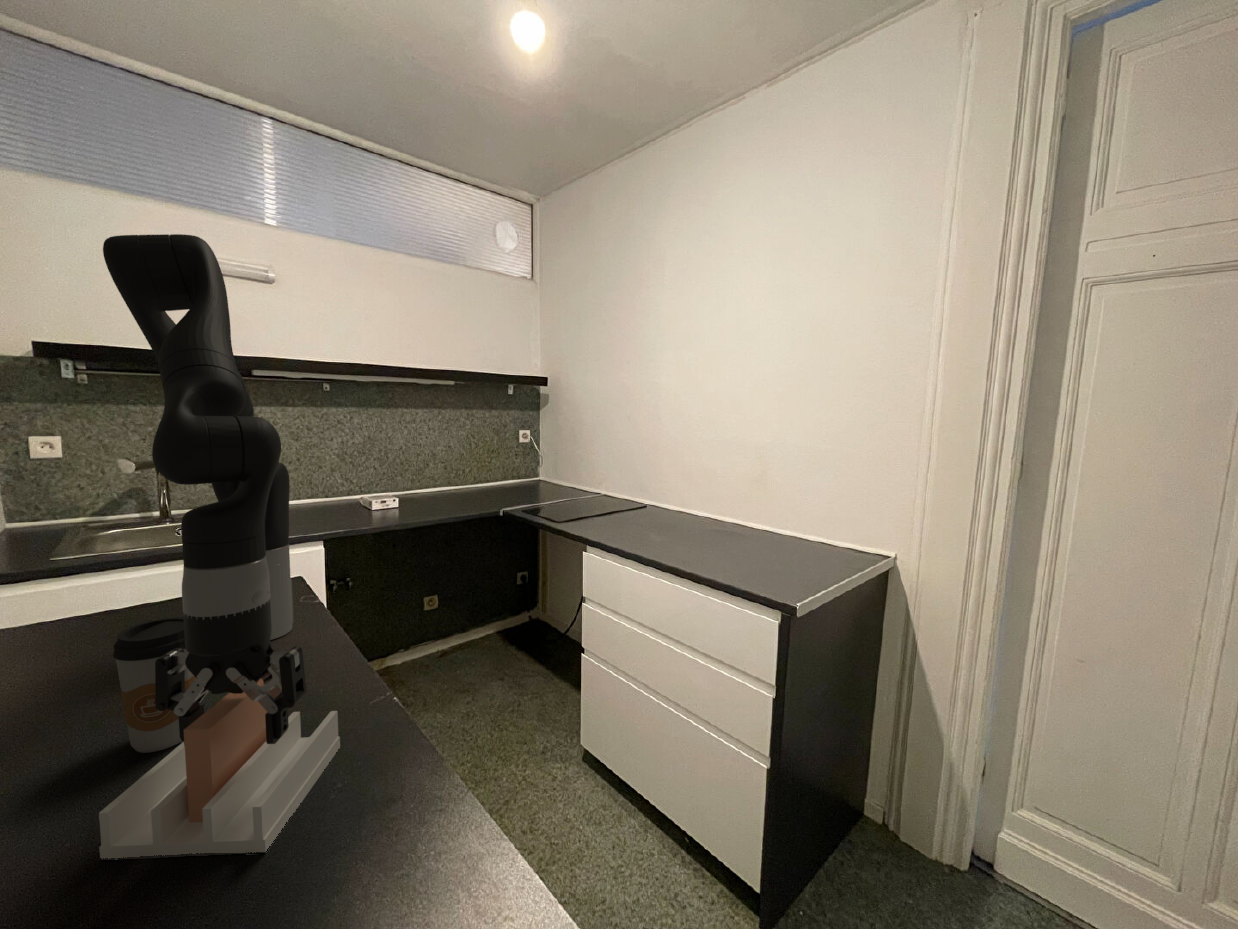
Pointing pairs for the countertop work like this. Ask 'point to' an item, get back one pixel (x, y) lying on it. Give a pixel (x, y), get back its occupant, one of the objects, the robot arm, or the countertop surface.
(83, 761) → the countertop surface
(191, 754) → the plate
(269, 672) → the robot arm
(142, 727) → the coffee cup
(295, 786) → the dish rack
